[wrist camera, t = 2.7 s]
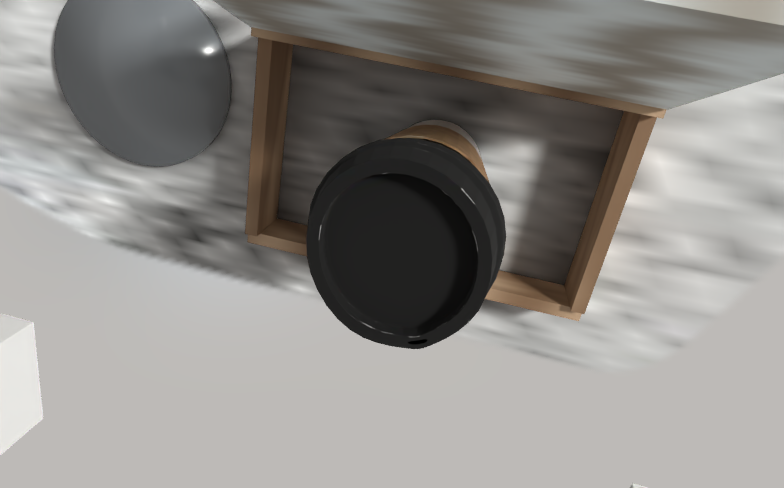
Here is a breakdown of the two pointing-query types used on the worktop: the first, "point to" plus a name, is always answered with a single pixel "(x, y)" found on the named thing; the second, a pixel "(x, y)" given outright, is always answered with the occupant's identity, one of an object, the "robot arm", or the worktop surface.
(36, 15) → the worktop surface
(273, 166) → the frame
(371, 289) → the coffee cup
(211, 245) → the worktop surface
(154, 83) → the disc
